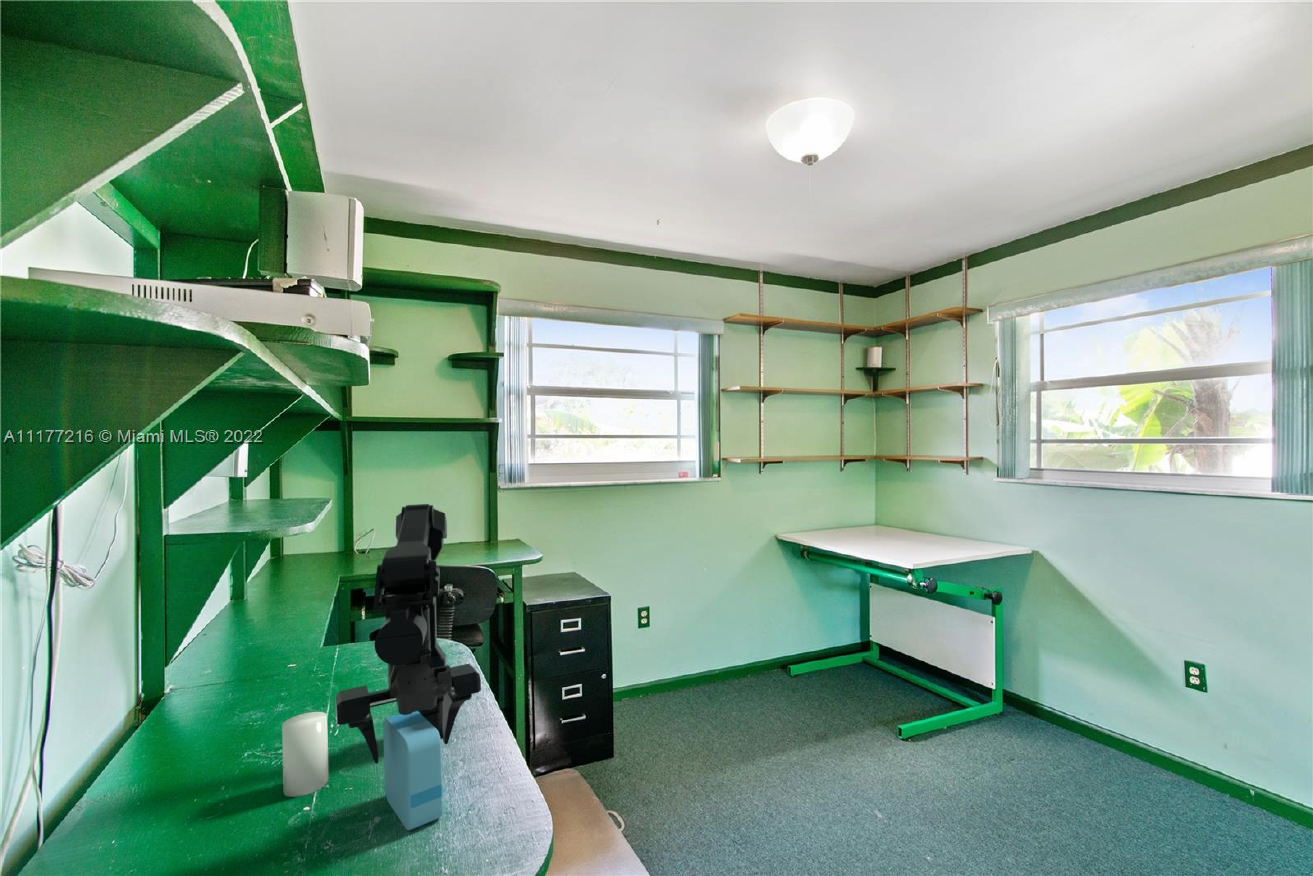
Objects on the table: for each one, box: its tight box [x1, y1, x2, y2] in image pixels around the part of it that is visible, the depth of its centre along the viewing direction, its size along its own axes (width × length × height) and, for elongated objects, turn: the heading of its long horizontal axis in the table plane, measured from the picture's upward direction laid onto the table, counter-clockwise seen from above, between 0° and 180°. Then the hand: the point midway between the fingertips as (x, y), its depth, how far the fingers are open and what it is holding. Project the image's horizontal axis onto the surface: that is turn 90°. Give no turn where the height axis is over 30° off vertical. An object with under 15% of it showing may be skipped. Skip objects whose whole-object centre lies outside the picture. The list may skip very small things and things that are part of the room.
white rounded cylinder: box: [281, 711, 330, 798], centre depth 92 cm, size 6×6×10 cm
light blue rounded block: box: [382, 711, 444, 831], centre depth 84 cm, size 12×4×12 cm, turn 39°
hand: (411, 752), depth 84 cm, fingers open, 9 cm apart
